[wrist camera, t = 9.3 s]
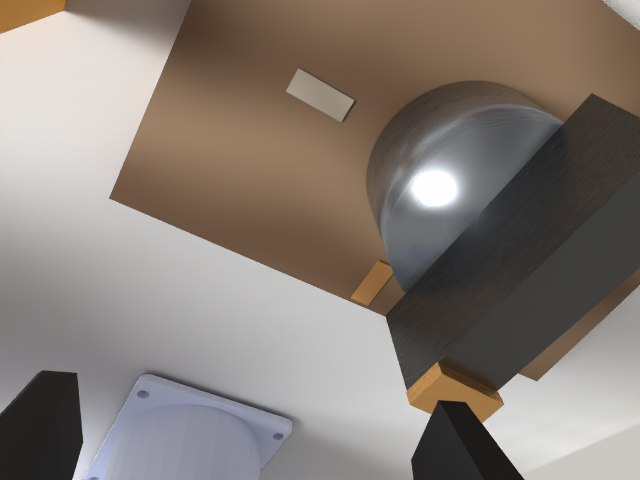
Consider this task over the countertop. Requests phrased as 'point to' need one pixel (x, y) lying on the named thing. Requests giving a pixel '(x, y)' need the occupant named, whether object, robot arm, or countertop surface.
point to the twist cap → (499, 231)
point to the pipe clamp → (26, 12)
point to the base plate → (346, 120)
